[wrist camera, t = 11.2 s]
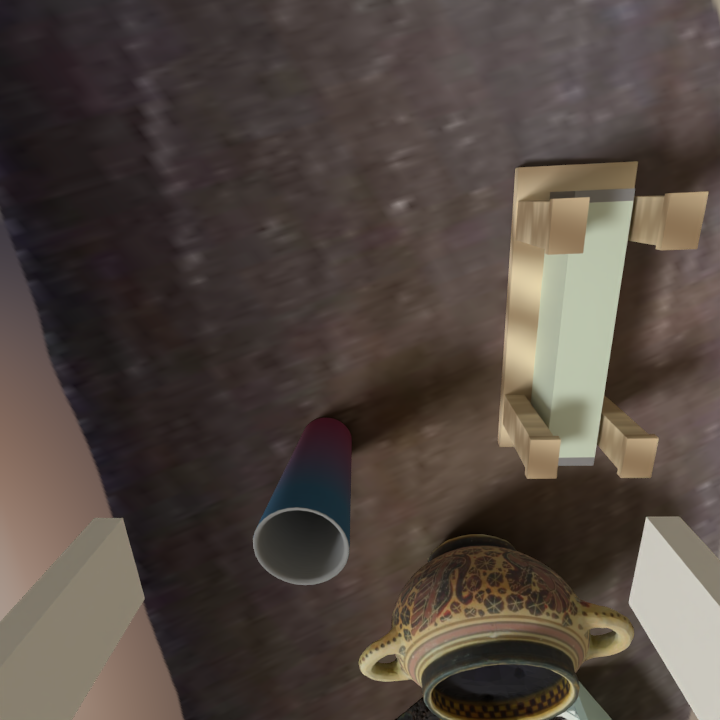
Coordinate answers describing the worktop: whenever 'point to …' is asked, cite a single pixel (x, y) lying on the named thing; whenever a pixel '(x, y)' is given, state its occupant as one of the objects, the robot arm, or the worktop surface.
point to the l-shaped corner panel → (585, 708)
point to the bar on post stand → (528, 245)
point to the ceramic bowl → (492, 634)
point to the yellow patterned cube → (419, 712)
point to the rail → (580, 325)
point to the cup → (310, 509)
